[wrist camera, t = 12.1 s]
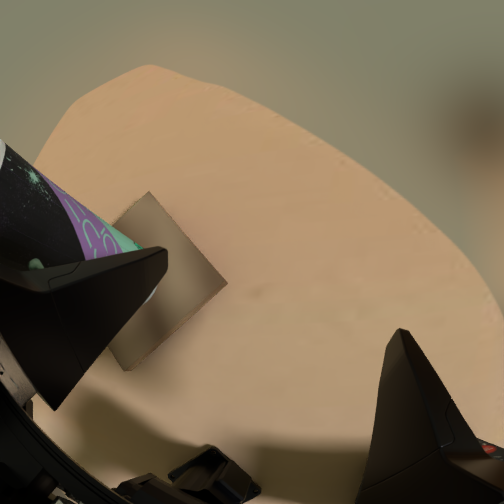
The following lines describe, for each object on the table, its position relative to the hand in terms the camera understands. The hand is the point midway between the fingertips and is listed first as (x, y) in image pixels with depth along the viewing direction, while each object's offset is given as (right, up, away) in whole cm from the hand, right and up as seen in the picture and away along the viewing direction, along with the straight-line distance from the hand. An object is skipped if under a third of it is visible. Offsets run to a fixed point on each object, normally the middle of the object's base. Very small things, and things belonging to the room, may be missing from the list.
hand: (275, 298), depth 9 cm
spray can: (-11, -1, +13) cm, 18 cm away
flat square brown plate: (-11, -1, +16) cm, 19 cm away
